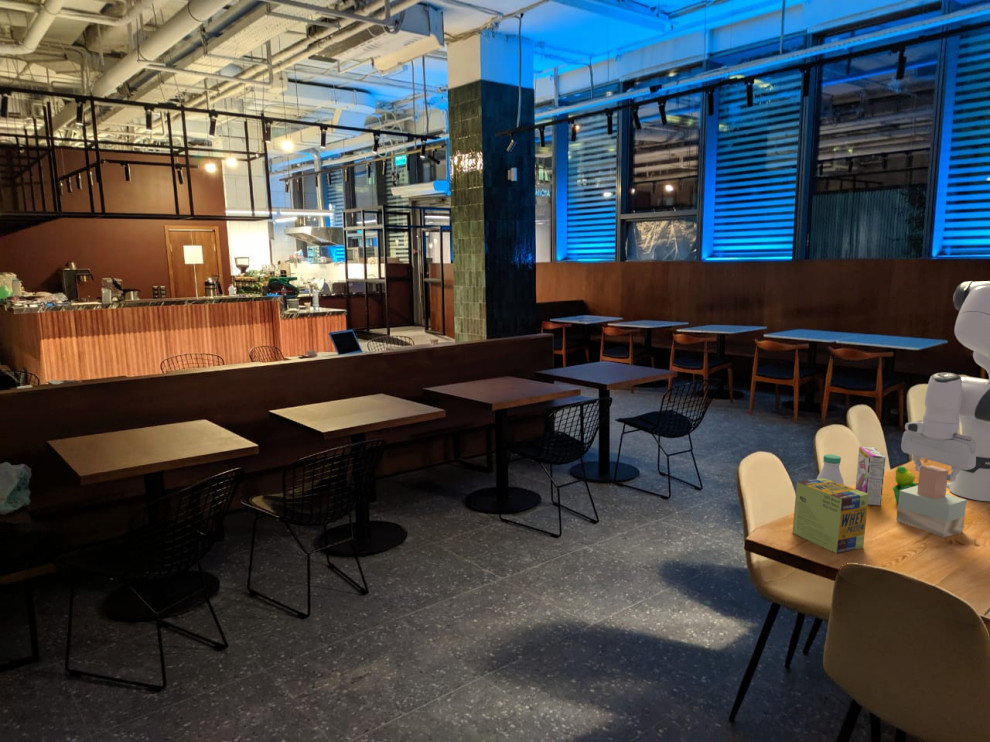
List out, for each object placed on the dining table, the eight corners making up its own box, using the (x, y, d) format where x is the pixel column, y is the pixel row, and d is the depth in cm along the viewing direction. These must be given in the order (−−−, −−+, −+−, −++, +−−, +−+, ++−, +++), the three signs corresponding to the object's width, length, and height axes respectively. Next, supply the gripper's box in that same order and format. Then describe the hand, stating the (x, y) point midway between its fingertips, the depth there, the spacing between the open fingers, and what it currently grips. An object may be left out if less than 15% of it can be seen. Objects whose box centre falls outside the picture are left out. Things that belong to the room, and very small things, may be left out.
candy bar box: (853, 493, 231) (858, 446, 228) (870, 494, 230) (874, 447, 227) (864, 505, 220) (869, 455, 217) (881, 506, 219) (886, 456, 216)
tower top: (914, 501, 211) (916, 485, 210) (964, 516, 199) (966, 499, 198) (898, 506, 206) (899, 490, 205) (947, 522, 194) (949, 505, 193)
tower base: (914, 516, 212) (916, 501, 211) (962, 533, 199) (964, 516, 198) (895, 521, 208) (897, 505, 207) (943, 538, 195) (945, 521, 194)
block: (928, 491, 205) (931, 465, 204) (945, 496, 200) (948, 470, 199) (917, 493, 203) (920, 467, 202) (933, 498, 199) (936, 472, 197)
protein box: (836, 554, 184) (842, 499, 181) (791, 533, 198) (795, 481, 195) (864, 548, 188) (870, 493, 185) (818, 527, 202) (822, 476, 199)
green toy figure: (916, 509, 217) (920, 475, 215) (886, 501, 223) (889, 468, 222) (929, 501, 224) (932, 467, 222) (899, 493, 231) (902, 461, 229)
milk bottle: (807, 515, 211) (812, 452, 208) (831, 515, 212) (837, 452, 208) (821, 525, 203) (827, 460, 200) (846, 524, 204) (852, 459, 201)
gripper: (984, 437, 190) (978, 485, 192) (914, 420, 209) (910, 464, 211) (969, 439, 188) (963, 488, 190) (900, 422, 206) (895, 467, 209)
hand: (934, 475), depth 201 cm, fingers open, 8 cm apart
